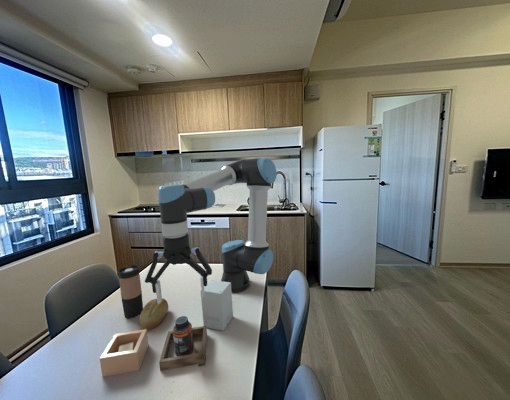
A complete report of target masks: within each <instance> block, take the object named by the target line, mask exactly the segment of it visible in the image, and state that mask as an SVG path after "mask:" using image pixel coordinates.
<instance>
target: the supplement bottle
mask: <svg viewBox="0 0 510 400" xmlns="http://www.w3.org/2000/svg"><path fill="white" fill-rule="evenodd" d="M174 323H175V324H174V326H173V328H172V331H173V337H174V340H173V345H174V352H175V356H176V357H178V356H184V355H190V354H193V351H194V343H193V333H192V328H193V326H192V323H191V322H190V321H189V318H188V316H186V315H181V316H178V317H177V318H176V319H175V321H174Z"/></svg>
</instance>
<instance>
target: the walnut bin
mask: <svg viewBox="0 0 510 400" xmlns="http://www.w3.org/2000/svg"><path fill="white" fill-rule="evenodd" d="M207 329H208V328H207V327H206V326H204V325H203V326H202V325H201V326H195V327H192V333H193V343H194V349H193V351H194V353H191V354H190V355H184V356H175V357H173V356H172V357H168V354H169V350H170V348H171V343H172V341H174V337H173V330H169V331H167V335H166V338H165V340H164V345H163V348H162V351H161V355H160V357H159V358H160V359H159V362H158V364H159V366H158V367H159V371H167V370H172V369H177V368H178V369H179V368H184V367H189V366H195V365H198V367H202V366H206V361H207V341H208V339H207V338H208V331H207Z"/></svg>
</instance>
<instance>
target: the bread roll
mask: <svg viewBox="0 0 510 400" xmlns="http://www.w3.org/2000/svg"><path fill="white" fill-rule="evenodd" d="M168 311H169V304H168V301H167V300H166V299H165V298H163V297H162V300H161V302H160V304H158V303H157V298H154V299H150V301H148V302H147V303H146V304H145V305H144V306H143V310H142V312H141V314H140V315H139V325H140V328H141V330H144V329H147V331H150V330H153V329H155V328H157V327H158V326H160V324H161V322H162V321H163V319H164V318H165V316H166V314H167V313H168Z"/></svg>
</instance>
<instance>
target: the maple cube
mask: <svg viewBox="0 0 510 400" xmlns="http://www.w3.org/2000/svg"><path fill="white" fill-rule="evenodd" d="M129 350H134V343H133V342H131V343H128V344H125V345H122V346H119V351H118V352H123V351H129Z"/></svg>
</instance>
